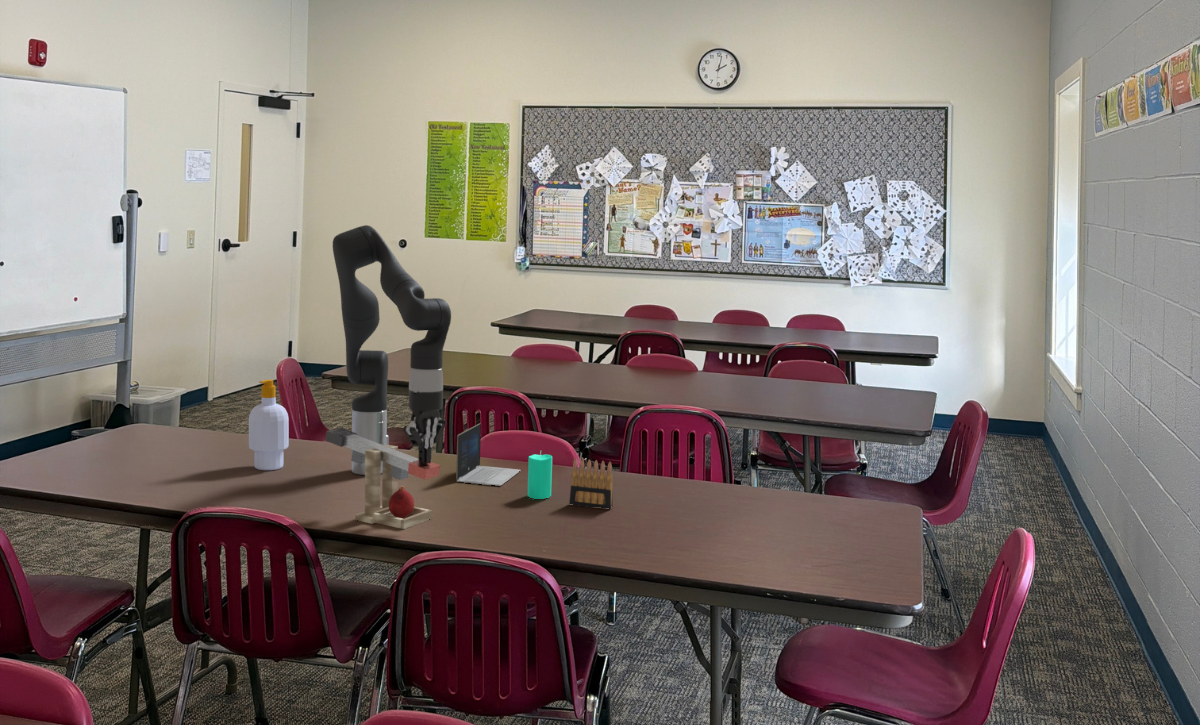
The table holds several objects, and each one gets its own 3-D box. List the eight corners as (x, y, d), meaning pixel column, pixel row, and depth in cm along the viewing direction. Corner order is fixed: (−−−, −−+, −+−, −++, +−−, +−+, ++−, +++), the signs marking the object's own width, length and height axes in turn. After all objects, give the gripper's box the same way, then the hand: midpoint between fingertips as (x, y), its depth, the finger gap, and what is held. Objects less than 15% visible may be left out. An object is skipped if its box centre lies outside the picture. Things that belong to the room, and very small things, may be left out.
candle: (555, 495, 257) (556, 449, 256) (544, 501, 252) (545, 454, 250) (534, 492, 260) (536, 446, 258) (523, 497, 254) (524, 451, 253)
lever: (323, 451, 237) (326, 430, 236) (338, 448, 242) (341, 427, 241) (423, 491, 224) (426, 469, 223) (437, 486, 229) (440, 465, 227)
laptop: (500, 487, 264) (501, 439, 262) (455, 483, 266) (456, 435, 265) (521, 472, 281) (522, 426, 279) (478, 468, 284) (479, 423, 282)
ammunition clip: (612, 508, 248) (614, 460, 247) (610, 510, 247) (612, 462, 245) (571, 503, 251) (572, 456, 249) (569, 505, 249) (570, 458, 248)
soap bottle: (240, 469, 271) (239, 380, 268) (267, 461, 281) (266, 376, 278) (271, 474, 268) (270, 384, 264) (296, 466, 277) (296, 379, 274)
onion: (408, 524, 228) (408, 490, 227) (384, 522, 229) (384, 488, 228) (417, 517, 234) (418, 484, 233) (394, 515, 235) (394, 482, 234)
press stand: (355, 519, 230) (355, 451, 228) (389, 508, 241) (390, 442, 238) (401, 530, 224) (402, 460, 222) (434, 517, 234) (436, 450, 232)
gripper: (431, 382, 232) (429, 456, 234) (393, 389, 220) (392, 466, 222) (457, 386, 228) (455, 461, 230) (420, 393, 217) (419, 471, 219)
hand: (424, 463), depth 226 cm, fingers closed
